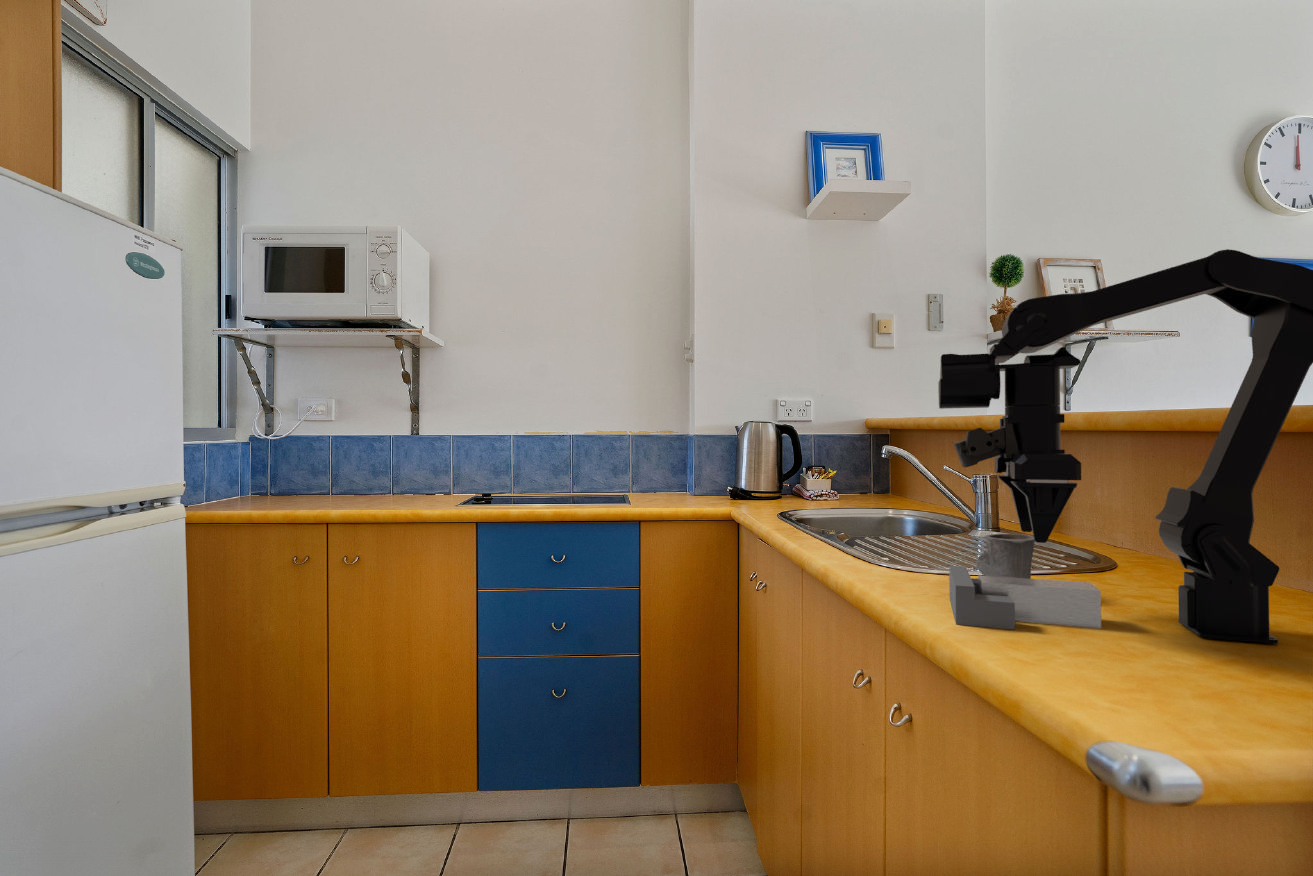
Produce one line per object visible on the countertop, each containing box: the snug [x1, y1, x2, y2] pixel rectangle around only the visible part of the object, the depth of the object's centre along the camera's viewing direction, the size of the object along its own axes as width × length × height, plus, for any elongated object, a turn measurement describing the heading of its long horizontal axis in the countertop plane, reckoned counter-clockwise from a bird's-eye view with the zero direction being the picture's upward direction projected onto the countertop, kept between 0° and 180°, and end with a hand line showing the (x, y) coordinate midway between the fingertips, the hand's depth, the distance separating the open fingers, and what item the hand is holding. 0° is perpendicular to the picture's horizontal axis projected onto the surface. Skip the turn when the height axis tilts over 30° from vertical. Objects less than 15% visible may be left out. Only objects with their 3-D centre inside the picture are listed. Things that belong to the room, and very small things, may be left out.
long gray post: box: [977, 574, 1102, 630], centre depth 75 cm, size 12×4×4 cm, turn 68°
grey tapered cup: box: [976, 533, 1036, 579], centre depth 91 cm, size 6×13×8 cm, turn 173°
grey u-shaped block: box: [948, 565, 1016, 630], centre depth 78 cm, size 6×12×4 cm, turn 158°
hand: (1033, 536), depth 75 cm, fingers open, 9 cm apart
